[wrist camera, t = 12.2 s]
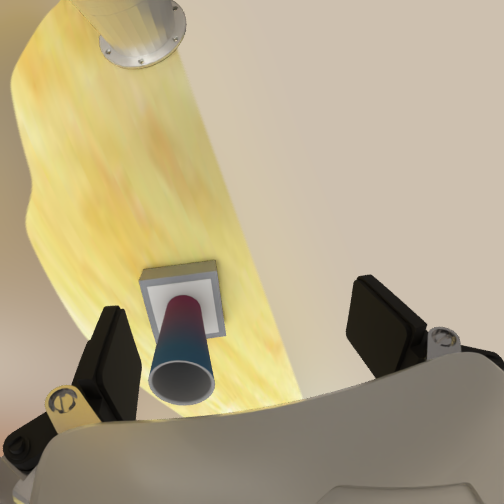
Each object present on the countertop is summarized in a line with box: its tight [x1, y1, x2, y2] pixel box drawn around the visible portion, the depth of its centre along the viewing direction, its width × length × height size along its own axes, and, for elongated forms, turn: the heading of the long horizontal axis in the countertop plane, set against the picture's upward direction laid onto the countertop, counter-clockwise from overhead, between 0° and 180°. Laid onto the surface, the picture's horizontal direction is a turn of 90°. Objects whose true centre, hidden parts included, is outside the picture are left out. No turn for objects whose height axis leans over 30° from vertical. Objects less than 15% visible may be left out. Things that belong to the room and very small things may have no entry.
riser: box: [139, 260, 226, 344], centre depth 42 cm, size 11×11×4 cm
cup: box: [148, 295, 215, 405], centre depth 33 cm, size 7×7×15 cm
